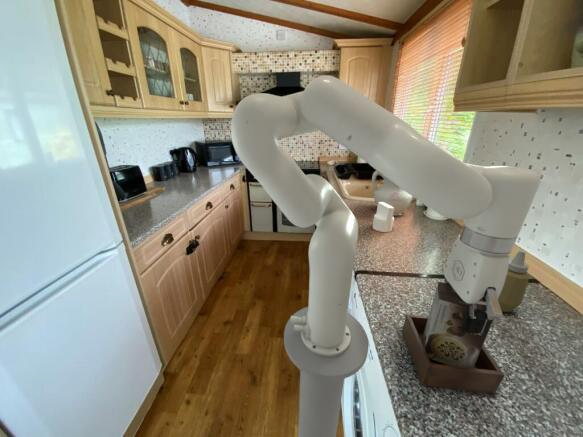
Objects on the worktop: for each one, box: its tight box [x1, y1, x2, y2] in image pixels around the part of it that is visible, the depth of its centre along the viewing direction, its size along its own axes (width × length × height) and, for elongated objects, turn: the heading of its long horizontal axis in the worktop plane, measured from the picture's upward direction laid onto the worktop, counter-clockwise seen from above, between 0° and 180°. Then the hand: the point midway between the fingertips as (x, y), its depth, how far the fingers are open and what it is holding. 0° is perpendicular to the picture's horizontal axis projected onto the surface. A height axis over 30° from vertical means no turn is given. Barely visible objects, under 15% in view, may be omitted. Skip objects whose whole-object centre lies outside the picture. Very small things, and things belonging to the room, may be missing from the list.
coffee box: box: [423, 281, 494, 368], centre depth 51 cm, size 9×6×16 cm
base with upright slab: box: [372, 202, 395, 233], centre depth 116 cm, size 9×9×12 cm
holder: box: [401, 314, 505, 395], centre depth 53 cm, size 14×14×6 cm
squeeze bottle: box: [498, 249, 530, 313], centre depth 67 cm, size 8×8×18 cm
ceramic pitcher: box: [371, 169, 413, 217], centre depth 134 cm, size 22×20×25 cm
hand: (458, 314), depth 49 cm, fingers closed on coffee box, 7 cm apart
